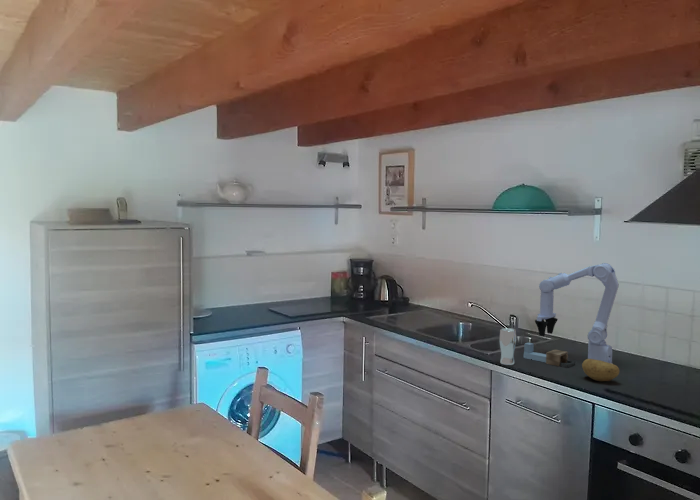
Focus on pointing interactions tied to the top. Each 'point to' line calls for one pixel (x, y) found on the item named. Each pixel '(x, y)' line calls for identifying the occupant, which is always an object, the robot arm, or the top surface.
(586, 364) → the potato
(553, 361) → the tunnel
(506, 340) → the beer glass
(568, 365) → the pit
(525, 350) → the blue l-shaped block
